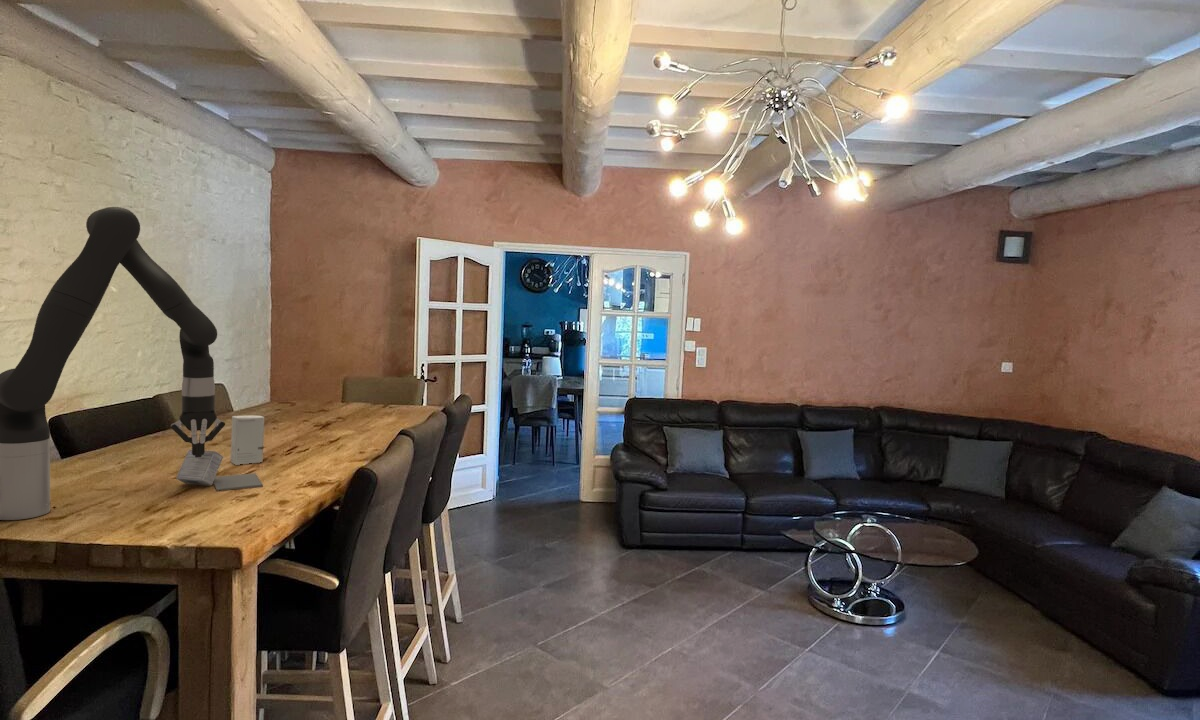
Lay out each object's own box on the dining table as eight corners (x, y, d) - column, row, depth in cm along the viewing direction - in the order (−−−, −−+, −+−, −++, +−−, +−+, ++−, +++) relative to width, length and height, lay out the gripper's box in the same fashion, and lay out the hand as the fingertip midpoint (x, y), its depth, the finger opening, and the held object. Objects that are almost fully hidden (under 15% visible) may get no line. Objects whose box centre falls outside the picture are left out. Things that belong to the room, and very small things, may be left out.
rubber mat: (216, 491, 168) (216, 489, 168) (211, 479, 180) (211, 477, 180) (262, 486, 175) (262, 484, 175) (255, 475, 186) (255, 473, 186)
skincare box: (234, 465, 196) (235, 418, 195) (229, 462, 200) (230, 415, 199) (264, 462, 201) (265, 416, 200) (258, 459, 206) (259, 413, 205)
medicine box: (212, 486, 173) (224, 456, 177) (202, 480, 169) (215, 450, 174) (185, 484, 174) (198, 454, 178) (175, 478, 170) (188, 448, 174)
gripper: (169, 396, 163) (169, 462, 165) (228, 394, 171) (227, 457, 172) (168, 392, 169) (168, 456, 171) (225, 391, 177) (224, 451, 178)
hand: (198, 456), depth 172 cm, fingers closed
